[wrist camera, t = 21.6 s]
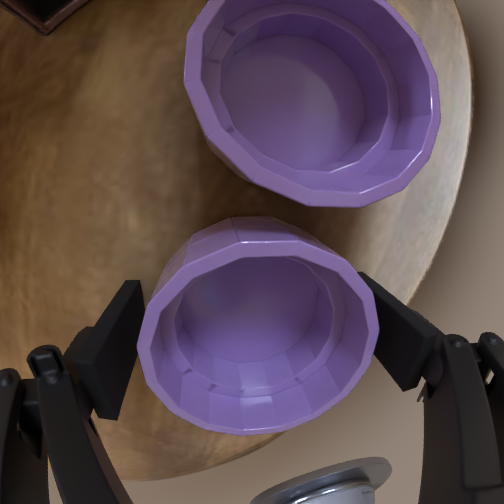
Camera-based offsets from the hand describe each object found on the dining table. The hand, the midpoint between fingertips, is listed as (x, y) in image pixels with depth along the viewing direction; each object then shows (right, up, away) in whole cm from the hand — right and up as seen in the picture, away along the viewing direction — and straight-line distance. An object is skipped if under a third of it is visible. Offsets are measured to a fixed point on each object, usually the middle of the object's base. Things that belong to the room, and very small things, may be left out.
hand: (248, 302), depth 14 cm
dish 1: (+2, +10, -2) cm, 10 cm away
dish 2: (0, 0, 0) cm, 0 cm away
